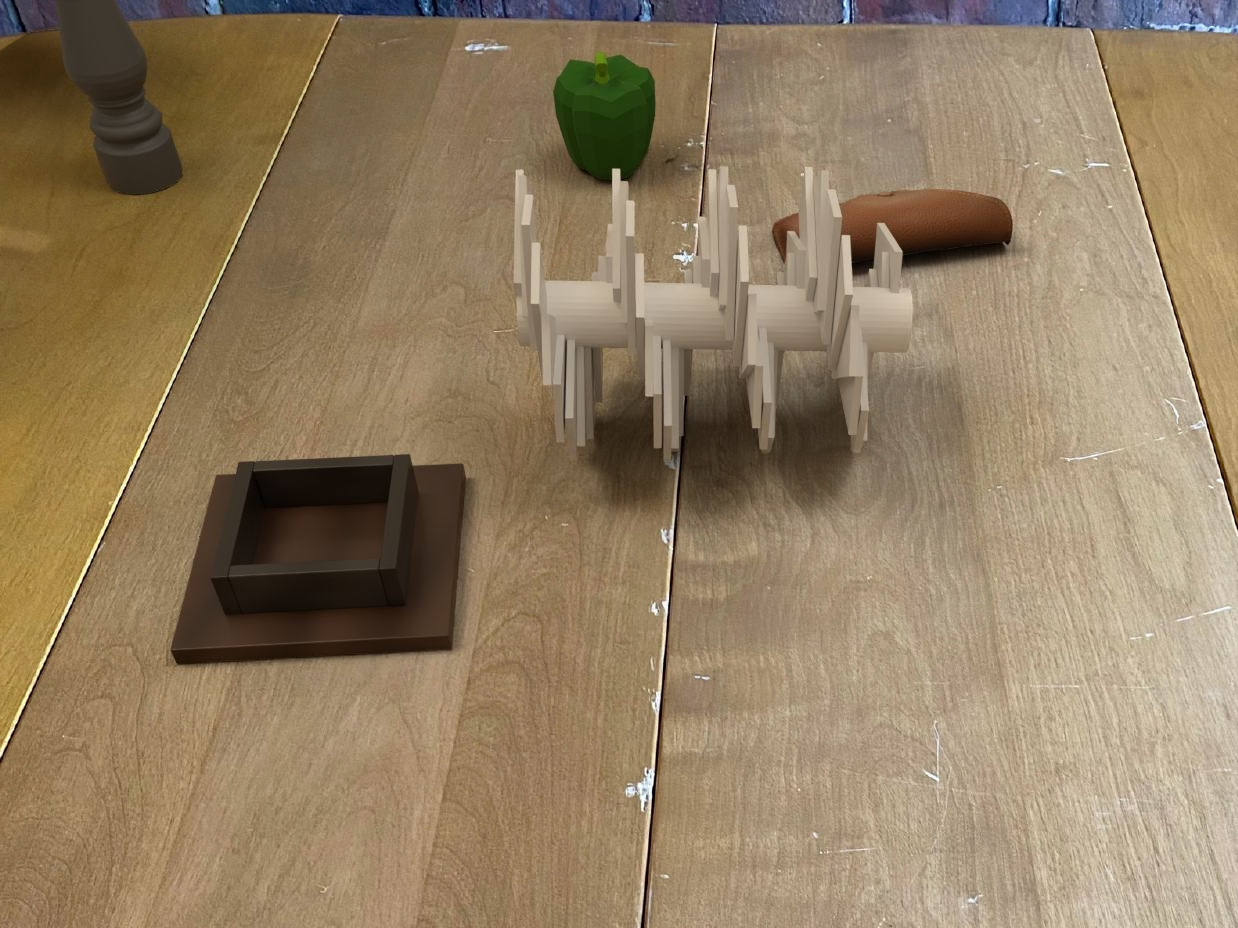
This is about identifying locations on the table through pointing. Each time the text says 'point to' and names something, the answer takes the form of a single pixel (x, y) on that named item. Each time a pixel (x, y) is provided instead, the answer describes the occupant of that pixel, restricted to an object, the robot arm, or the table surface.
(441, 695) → the table surface
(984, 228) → the sunglasses case
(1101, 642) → the table surface
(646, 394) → the spiral staircase
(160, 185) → the grey baluster post
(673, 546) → the table surface
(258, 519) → the socket pad
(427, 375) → the table surface
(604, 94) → the bell pepper
